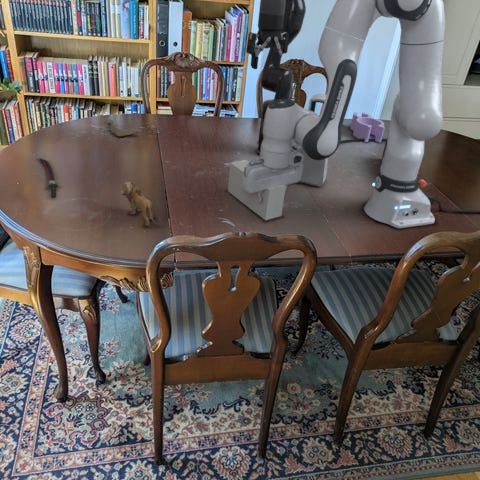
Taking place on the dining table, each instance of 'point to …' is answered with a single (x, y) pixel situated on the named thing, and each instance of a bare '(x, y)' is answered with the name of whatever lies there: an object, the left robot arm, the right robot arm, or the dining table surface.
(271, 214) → the box
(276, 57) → the left robot arm
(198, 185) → the dining table surface
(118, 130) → the jawbone
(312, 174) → the electronic device
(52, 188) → the sword
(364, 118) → the clip
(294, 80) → the miniature windmill
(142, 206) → the lion figurine
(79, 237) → the dining table surface
